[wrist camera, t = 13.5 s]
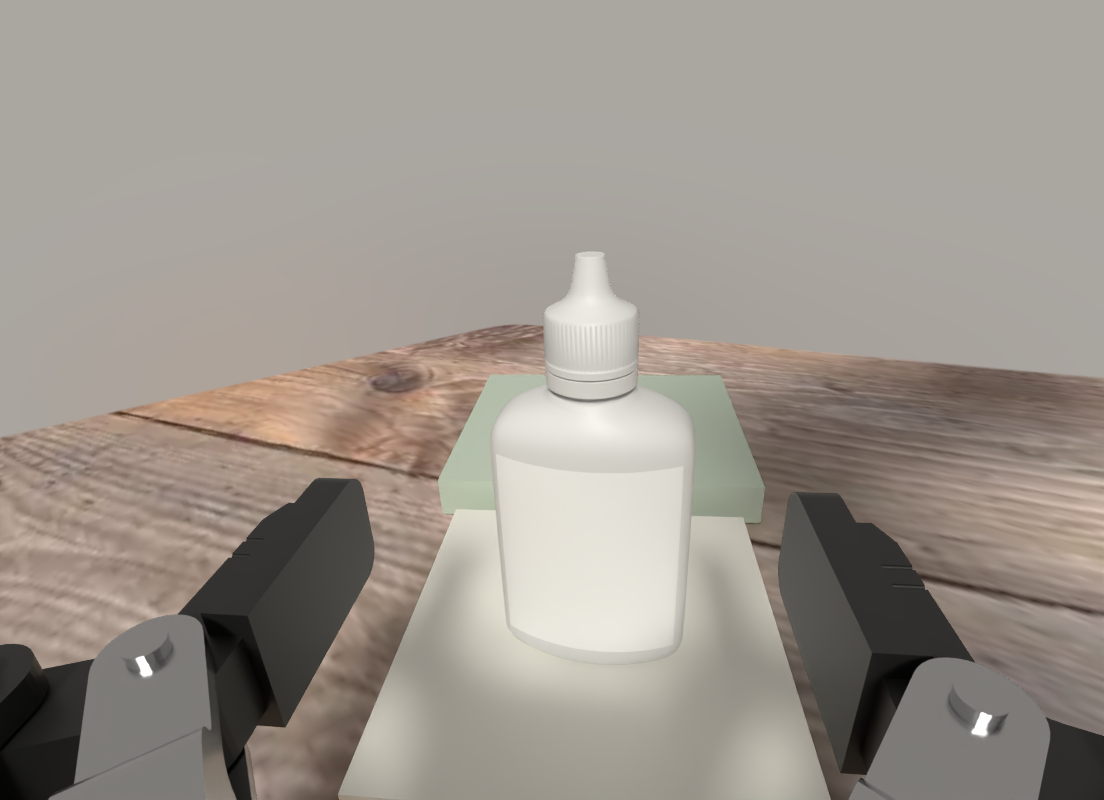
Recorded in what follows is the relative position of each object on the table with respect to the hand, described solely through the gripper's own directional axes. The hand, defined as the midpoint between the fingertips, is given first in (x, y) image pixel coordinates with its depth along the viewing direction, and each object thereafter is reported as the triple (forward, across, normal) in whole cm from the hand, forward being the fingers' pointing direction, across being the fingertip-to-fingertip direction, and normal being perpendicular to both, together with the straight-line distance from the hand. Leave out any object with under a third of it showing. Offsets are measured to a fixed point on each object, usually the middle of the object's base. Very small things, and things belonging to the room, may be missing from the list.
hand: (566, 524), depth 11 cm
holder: (+18, 0, +9) cm, 21 cm away
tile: (+6, 0, +9) cm, 11 cm away
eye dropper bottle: (+5, 0, +8) cm, 10 cm away
